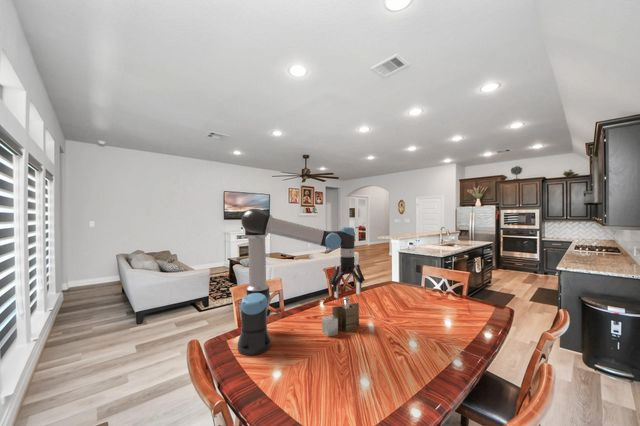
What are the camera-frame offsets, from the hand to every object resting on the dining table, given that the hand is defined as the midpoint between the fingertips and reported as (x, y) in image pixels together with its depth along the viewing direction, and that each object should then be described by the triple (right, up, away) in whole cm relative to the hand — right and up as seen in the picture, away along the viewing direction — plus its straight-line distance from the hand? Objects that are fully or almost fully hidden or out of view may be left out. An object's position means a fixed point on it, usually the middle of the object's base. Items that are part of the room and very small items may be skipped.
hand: (347, 296), depth 142 cm
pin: (0, -18, 0) cm, 18 cm away
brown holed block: (+3, -18, +1) cm, 18 cm away
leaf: (-4, -18, -2) cm, 18 cm away
